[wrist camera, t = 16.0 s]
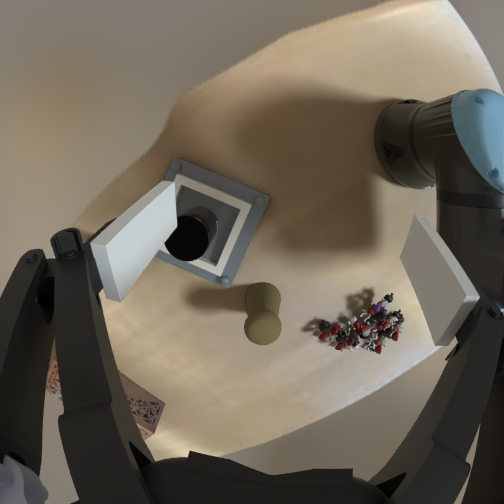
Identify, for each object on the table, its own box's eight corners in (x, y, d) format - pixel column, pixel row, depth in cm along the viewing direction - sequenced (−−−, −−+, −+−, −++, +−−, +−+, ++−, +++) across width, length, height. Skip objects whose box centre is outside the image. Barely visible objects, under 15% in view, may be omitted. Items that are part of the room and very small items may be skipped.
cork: (237, 300, 48) (231, 335, 37) (260, 275, 46) (260, 306, 36) (264, 320, 49) (264, 358, 38) (288, 296, 47) (294, 331, 37)
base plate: (270, 196, 43) (270, 198, 40) (229, 285, 47) (227, 292, 44) (175, 157, 41) (169, 156, 39) (143, 247, 46) (137, 252, 43)
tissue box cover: (62, 364, 56) (42, 386, 46) (76, 334, 53) (53, 358, 43) (140, 423, 60) (129, 450, 51) (165, 402, 57) (154, 433, 47)
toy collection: (380, 273, 45) (388, 288, 40) (410, 320, 48) (418, 335, 44) (311, 320, 50) (313, 337, 46) (349, 358, 54) (353, 375, 49)
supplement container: (180, 206, 42) (160, 217, 34) (218, 204, 42) (206, 213, 33) (184, 244, 44) (166, 262, 35) (220, 242, 44) (210, 261, 35)
